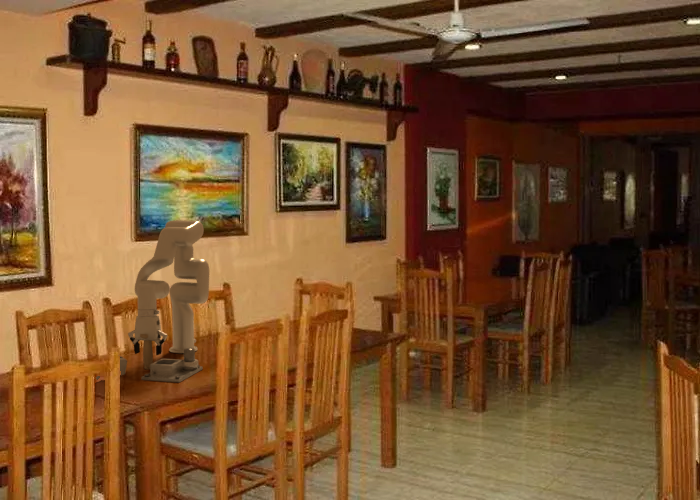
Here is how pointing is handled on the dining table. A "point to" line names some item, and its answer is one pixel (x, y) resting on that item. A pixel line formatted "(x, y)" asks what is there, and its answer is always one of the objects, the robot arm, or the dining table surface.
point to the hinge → (122, 366)
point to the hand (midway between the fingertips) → (147, 353)
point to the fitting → (174, 368)
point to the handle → (147, 352)
